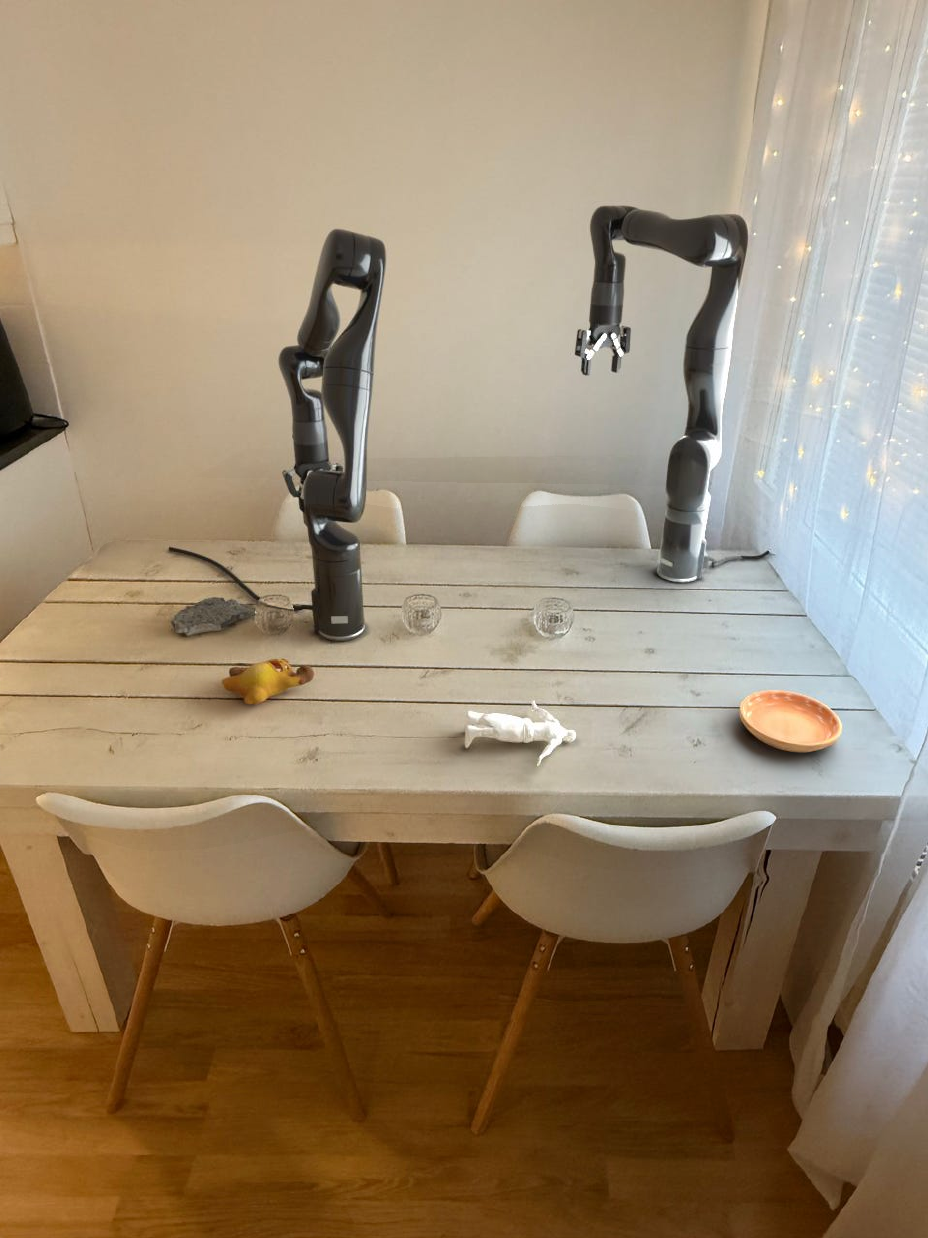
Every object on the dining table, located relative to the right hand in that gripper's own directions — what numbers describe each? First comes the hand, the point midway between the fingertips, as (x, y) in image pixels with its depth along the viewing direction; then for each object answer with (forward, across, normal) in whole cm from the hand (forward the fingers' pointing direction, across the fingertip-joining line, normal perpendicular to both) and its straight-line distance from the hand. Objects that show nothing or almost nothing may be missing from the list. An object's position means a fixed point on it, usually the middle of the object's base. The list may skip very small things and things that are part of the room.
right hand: (600, 373), depth 197 cm
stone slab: (+40, -100, -9) cm, 108 cm away
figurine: (+40, -64, -72) cm, 104 cm away
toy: (+40, -96, -40) cm, 111 cm away
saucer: (+40, -22, -90) cm, 101 cm away
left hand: (+27, -70, +10) cm, 76 cm away
